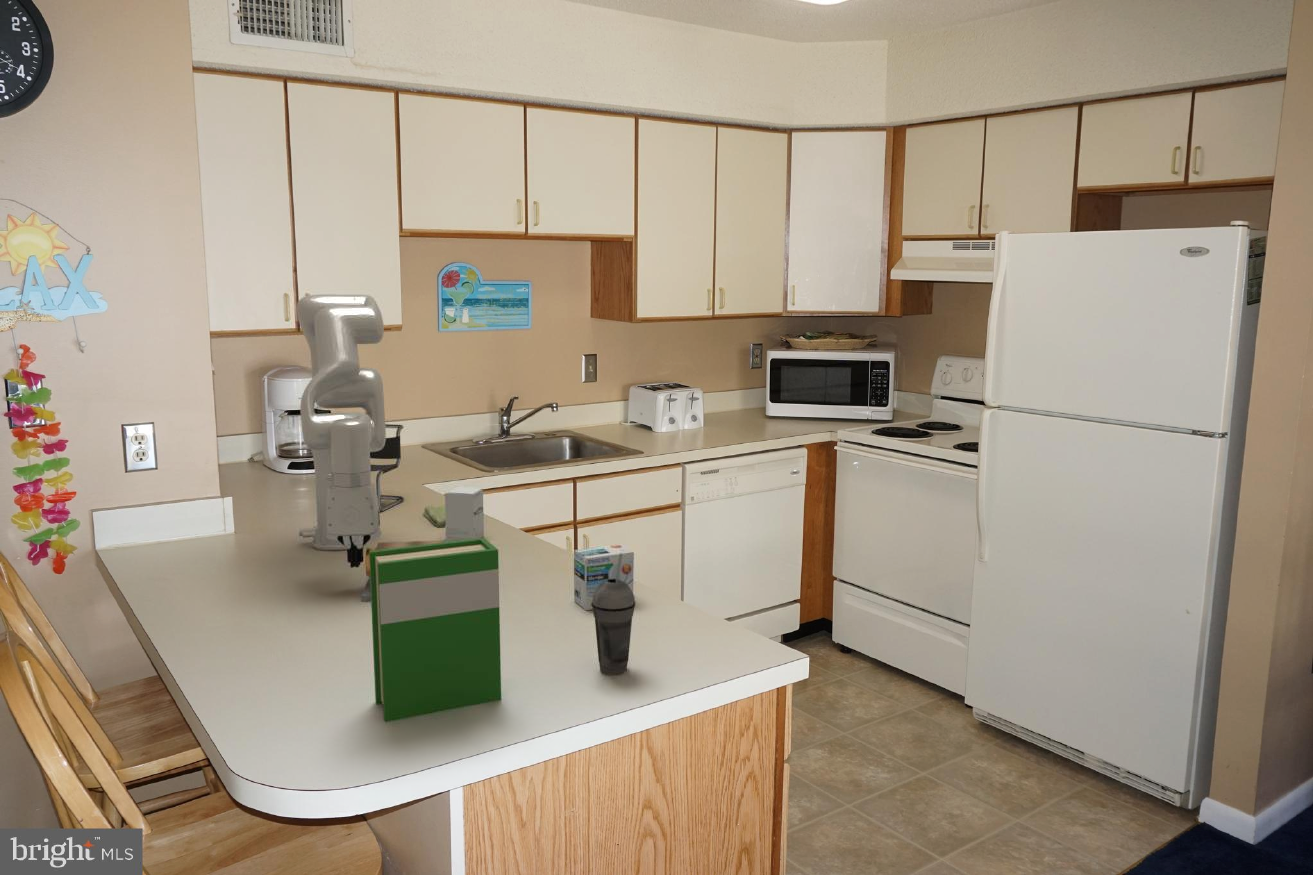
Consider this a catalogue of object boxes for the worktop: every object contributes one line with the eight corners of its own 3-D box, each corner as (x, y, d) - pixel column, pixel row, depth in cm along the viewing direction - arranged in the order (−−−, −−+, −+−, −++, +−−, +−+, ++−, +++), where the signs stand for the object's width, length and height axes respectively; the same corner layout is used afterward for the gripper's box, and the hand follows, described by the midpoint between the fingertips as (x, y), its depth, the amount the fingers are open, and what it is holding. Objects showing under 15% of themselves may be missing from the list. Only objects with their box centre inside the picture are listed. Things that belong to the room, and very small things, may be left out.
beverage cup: (591, 661, 165) (590, 547, 162) (633, 660, 166) (634, 547, 162) (591, 679, 158) (591, 560, 155) (636, 678, 158) (637, 559, 155)
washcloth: (468, 510, 272) (468, 499, 271) (484, 525, 256) (483, 513, 255) (421, 515, 266) (420, 503, 266) (434, 530, 250) (433, 518, 250)
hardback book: (384, 722, 142) (378, 564, 138) (375, 702, 149) (368, 551, 145) (501, 699, 150) (498, 549, 146) (487, 681, 157) (484, 537, 153)
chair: (408, 499, 282) (405, 424, 279) (380, 513, 266) (377, 434, 262) (366, 497, 285) (363, 423, 281) (336, 511, 268) (332, 432, 264)
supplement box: (473, 544, 236) (472, 493, 234) (445, 542, 237) (443, 492, 235) (485, 536, 243) (483, 487, 241) (457, 534, 245) (455, 485, 242)
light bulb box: (586, 611, 190) (585, 558, 188) (572, 601, 196) (572, 549, 194) (635, 603, 195) (635, 551, 193) (620, 593, 201) (620, 543, 199)
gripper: (309, 483, 193) (314, 572, 197) (386, 482, 195) (390, 570, 198) (318, 475, 201) (322, 561, 204) (392, 474, 202) (395, 559, 206)
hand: (355, 565), depth 201 cm, fingers closed
